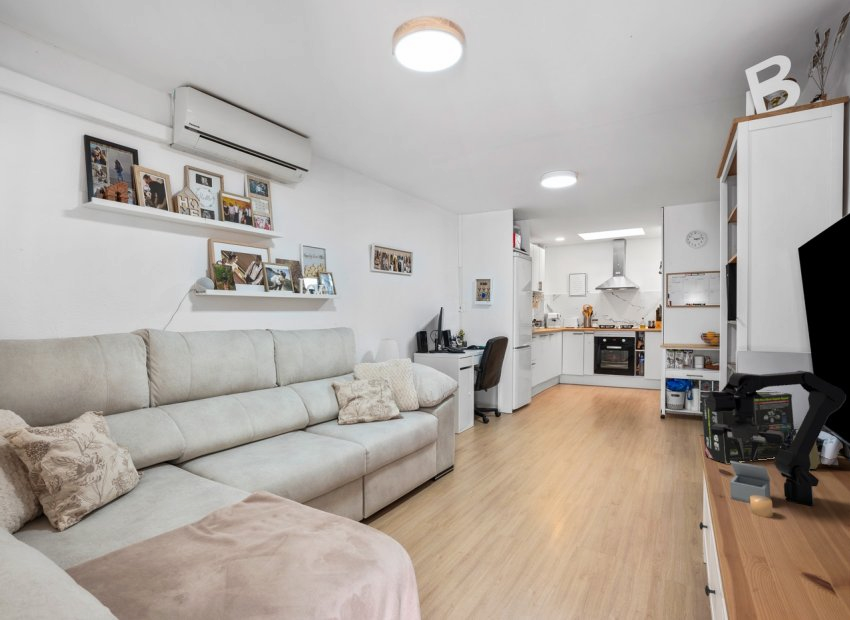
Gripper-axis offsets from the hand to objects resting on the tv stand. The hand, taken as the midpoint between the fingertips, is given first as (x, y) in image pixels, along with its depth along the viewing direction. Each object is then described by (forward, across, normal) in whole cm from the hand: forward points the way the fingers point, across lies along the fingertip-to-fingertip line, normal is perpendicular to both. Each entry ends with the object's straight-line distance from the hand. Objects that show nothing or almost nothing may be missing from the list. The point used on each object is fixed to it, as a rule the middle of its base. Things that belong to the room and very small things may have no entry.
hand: (747, 459), depth 138 cm
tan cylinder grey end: (+13, +4, -10) cm, 17 cm away
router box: (+13, -8, +52) cm, 54 cm away
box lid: (+5, 0, +3) cm, 5 cm away
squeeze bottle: (+13, +10, +50) cm, 52 cm away
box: (+13, 0, +2) cm, 13 cm away
